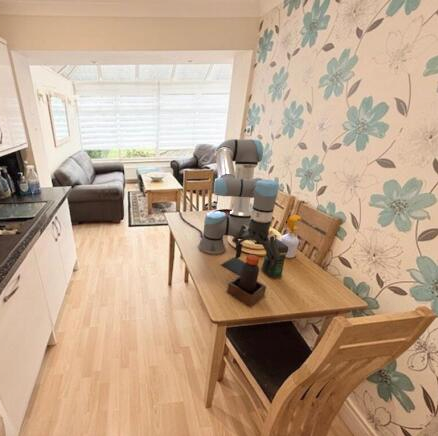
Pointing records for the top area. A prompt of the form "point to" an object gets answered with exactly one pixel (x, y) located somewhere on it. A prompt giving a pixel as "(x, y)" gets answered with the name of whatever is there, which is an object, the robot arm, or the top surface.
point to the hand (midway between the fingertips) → (251, 264)
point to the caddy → (244, 296)
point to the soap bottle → (291, 237)
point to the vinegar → (249, 274)
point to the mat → (234, 265)
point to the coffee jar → (278, 265)
